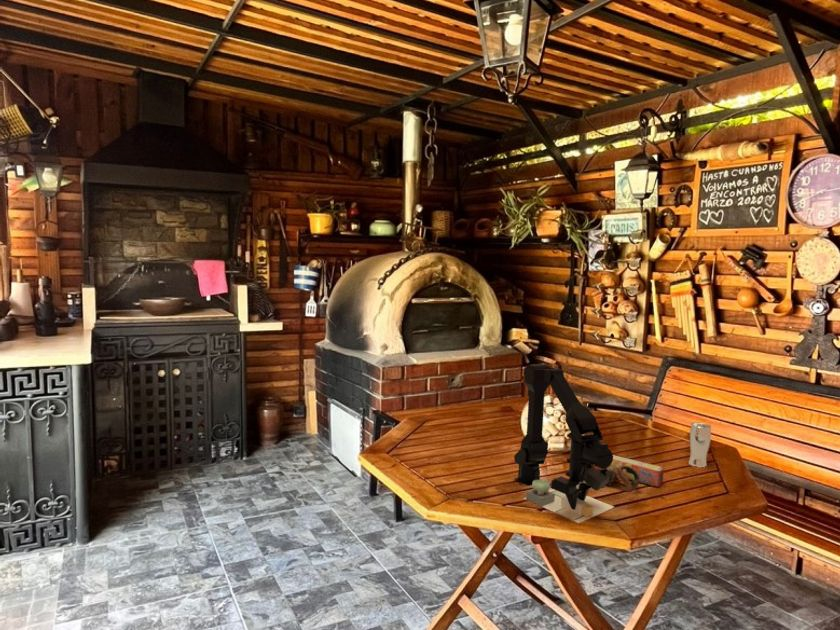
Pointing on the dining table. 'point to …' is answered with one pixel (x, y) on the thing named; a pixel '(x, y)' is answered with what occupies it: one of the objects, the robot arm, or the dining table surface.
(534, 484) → the button
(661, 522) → the dining table surface
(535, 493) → the button housing
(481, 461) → the dining table surface
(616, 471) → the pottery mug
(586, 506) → the marker
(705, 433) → the beer glass
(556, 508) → the picture board
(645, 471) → the snack package
